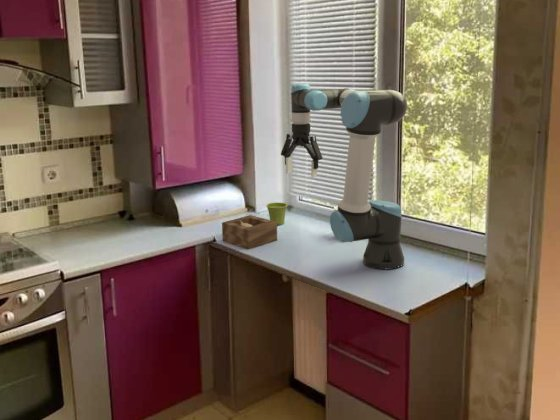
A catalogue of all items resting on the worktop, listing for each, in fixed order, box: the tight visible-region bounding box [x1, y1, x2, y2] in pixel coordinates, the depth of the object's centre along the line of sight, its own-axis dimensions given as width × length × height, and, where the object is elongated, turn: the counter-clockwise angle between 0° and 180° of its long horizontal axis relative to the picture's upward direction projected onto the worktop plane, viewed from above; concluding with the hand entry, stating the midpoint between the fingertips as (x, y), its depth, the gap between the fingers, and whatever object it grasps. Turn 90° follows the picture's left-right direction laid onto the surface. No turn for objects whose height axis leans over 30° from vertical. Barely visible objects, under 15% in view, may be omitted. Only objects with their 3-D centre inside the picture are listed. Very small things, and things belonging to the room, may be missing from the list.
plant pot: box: [266, 202, 288, 226], centre depth 291 cm, size 9×9×9 cm
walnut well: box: [221, 214, 278, 250], centre depth 267 cm, size 16×16×8 cm
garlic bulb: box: [240, 220, 252, 227], centre depth 267 cm, size 7×6×8 cm
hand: (301, 174), depth 265 cm, fingers open, 13 cm apart
